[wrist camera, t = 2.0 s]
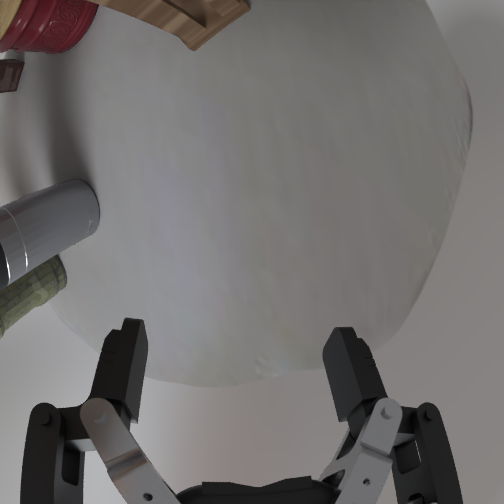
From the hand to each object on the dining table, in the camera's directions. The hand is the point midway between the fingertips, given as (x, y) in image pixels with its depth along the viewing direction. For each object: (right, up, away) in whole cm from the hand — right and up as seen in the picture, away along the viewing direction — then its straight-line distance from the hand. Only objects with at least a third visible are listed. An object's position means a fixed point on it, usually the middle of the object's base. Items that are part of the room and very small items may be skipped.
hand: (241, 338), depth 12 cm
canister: (-28, +40, +14) cm, 51 cm away
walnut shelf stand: (-7, +33, +11) cm, 36 cm away
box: (-45, +38, +20) cm, 63 cm away
